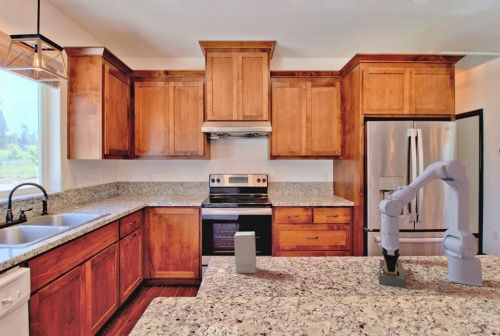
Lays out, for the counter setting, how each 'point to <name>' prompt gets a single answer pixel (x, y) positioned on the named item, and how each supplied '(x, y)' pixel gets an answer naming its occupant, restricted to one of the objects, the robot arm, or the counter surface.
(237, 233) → the skincare box
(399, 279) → the grey piece
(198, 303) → the counter surface
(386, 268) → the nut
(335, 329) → the counter surface
